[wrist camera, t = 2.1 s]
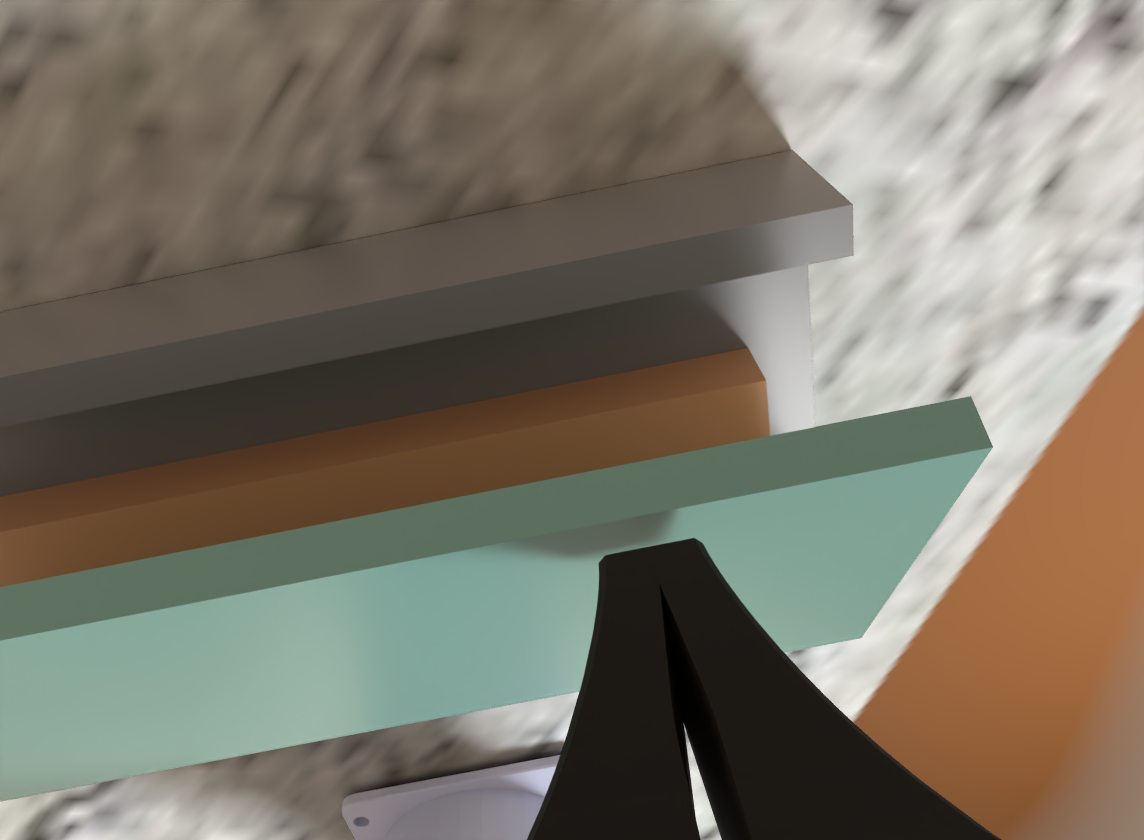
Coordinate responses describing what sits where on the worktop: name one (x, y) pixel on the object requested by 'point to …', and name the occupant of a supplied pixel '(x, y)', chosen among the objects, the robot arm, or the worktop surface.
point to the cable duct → (412, 366)
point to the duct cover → (453, 598)
